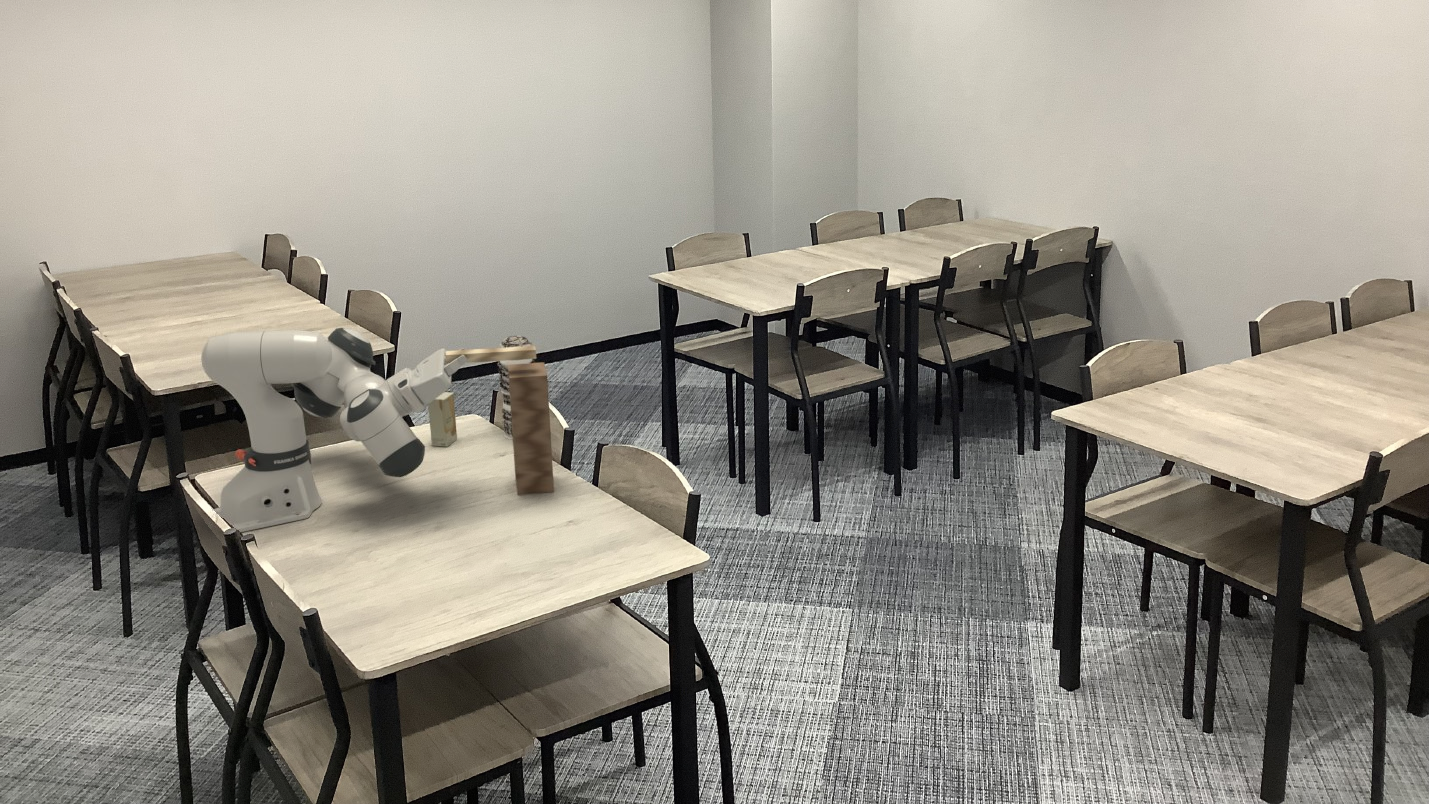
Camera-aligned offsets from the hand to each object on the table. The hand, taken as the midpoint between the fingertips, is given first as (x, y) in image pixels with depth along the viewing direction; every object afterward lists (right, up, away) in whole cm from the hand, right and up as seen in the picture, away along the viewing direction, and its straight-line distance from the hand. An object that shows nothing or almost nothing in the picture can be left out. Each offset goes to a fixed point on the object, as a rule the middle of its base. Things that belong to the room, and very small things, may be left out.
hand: (466, 354), depth 256 cm
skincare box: (-13, -20, +40) cm, 47 cm away
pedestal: (+13, -29, +13) cm, 34 cm away
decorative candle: (+5, -18, +45) cm, 49 cm away
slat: (+5, -1, +1) cm, 5 cm away
